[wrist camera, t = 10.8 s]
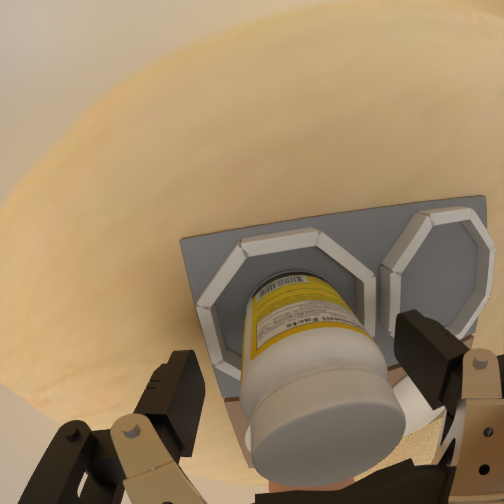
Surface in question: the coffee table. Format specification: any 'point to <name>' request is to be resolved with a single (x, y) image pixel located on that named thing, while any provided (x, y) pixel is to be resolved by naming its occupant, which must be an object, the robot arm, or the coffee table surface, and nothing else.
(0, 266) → the coffee table surface
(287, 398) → the supplement bottle
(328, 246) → the board
